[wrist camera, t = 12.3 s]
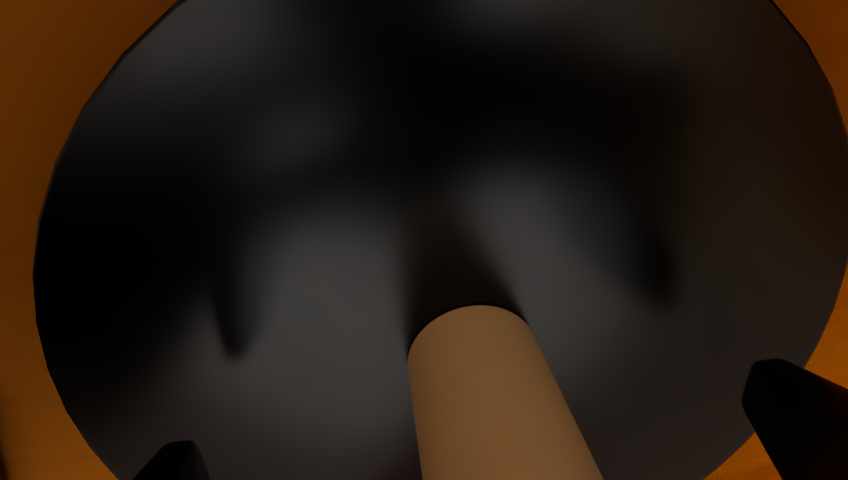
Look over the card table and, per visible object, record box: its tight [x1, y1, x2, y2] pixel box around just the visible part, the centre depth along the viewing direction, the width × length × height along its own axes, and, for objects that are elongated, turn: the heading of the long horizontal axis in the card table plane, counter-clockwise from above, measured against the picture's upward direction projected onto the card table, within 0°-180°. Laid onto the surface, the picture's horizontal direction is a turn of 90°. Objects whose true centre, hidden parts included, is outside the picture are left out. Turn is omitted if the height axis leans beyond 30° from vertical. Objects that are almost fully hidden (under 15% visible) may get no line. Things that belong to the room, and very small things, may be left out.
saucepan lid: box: [33, 0, 848, 480], centre depth 8 cm, size 14×14×6 cm
